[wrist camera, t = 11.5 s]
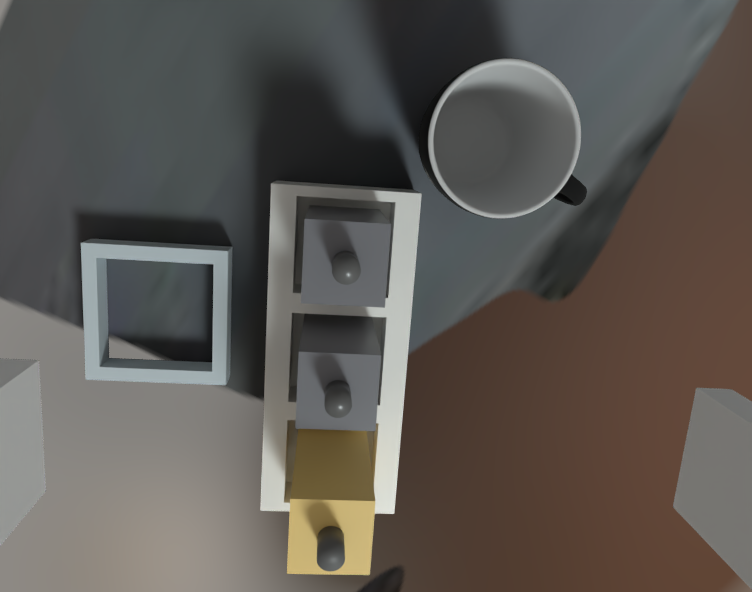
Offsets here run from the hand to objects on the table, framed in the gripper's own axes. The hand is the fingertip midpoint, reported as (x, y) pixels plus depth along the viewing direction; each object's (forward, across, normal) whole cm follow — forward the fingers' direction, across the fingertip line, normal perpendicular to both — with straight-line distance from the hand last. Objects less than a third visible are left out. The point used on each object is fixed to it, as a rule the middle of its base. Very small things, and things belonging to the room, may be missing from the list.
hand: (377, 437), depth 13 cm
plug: (+34, 0, -17) cm, 38 cm away
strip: (+35, 0, -9) cm, 36 cm away
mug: (+35, +10, +6) cm, 37 cm away
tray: (+35, -13, -7) cm, 38 cm away
